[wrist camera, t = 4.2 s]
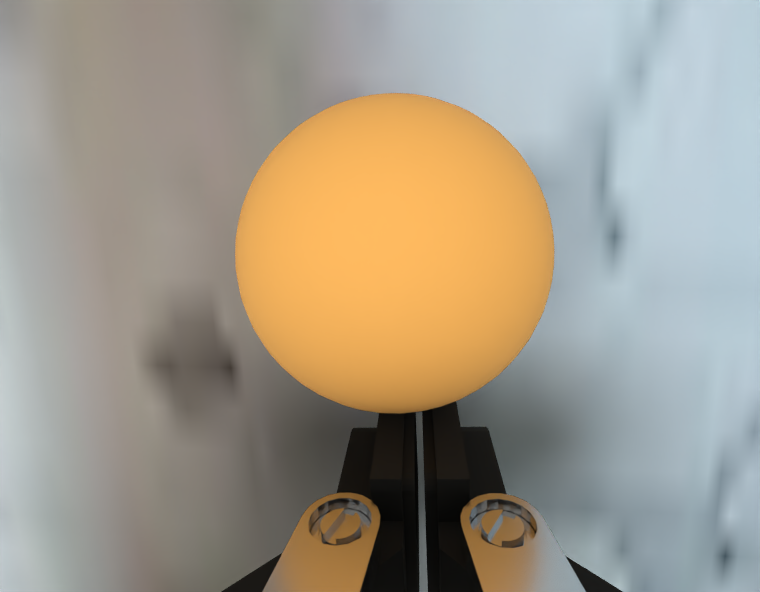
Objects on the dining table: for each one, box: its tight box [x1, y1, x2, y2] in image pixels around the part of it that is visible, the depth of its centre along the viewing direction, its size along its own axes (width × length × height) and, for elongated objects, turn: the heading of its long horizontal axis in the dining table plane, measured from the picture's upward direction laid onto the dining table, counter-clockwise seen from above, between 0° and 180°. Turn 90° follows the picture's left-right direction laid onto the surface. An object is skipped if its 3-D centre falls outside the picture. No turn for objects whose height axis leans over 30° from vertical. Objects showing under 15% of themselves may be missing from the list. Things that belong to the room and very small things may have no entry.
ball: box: [235, 93, 554, 413], centre depth 9 cm, size 6×6×6 cm
